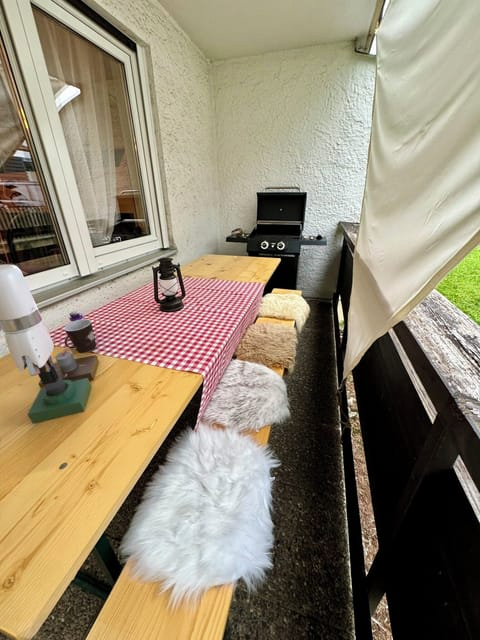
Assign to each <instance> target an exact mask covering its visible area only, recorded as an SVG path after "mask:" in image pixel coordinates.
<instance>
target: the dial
mask: <svg viewBox="0 0 480 640" xmlns="http://www.w3.org/2000/svg"><path fill="white" fill-rule="evenodd" d="M54 359H55V361H56V363H58V365H59V367H60V370H61V371H62V372H64V373H66V372H70V371H72V370H74V369H75V368H76V367H77V364H76V361H75V359H76V358H75V357H74V355H73V352H72V351H70V350H67V349H65V350H63V351H61V352H59V353H58V354H56V355H55V357H54Z"/></svg>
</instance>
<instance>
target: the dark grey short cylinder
mask: <svg viewBox="0 0 480 640" xmlns="http://www.w3.org/2000/svg"><path fill="white" fill-rule="evenodd" d="M66 389H67V385H66V383H65V381H64V380H63V379H57V382H55V383H50V384H47V385H46V387H45V390H46V392H47V393H48V395H49V396H55V395H58V394H60V393H62V392H64V391H65V390H66Z"/></svg>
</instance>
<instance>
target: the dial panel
mask: <svg viewBox="0 0 480 640" xmlns="http://www.w3.org/2000/svg"><path fill="white" fill-rule="evenodd" d="M74 359H75V361H76V364H77V367H76V368H75V369H74V370H72V371H70V372H66V373H64V372H62V371H61V370H60V367H59V365H58V363H57V362H53V366H54V368H55V370H56V372H57V375H58V377H59V378H58V379H63V380H70V381H76V380H81V379H86V378H88V379H89V382H92V381H94V380H95V378H96V374H97V370H98V367H99V363H100V360H99V358H98V356H97V354H94V355H88V356H83V357H82V356H81V357H77V358H74ZM46 385H47V384H43V383H42V381H41V379H40V380H39V382H38V386H39V388H40V389H41V388H43V387H46Z"/></svg>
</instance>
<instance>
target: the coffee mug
mask: <svg viewBox="0 0 480 640" xmlns="http://www.w3.org/2000/svg"><path fill="white" fill-rule="evenodd" d="M78 328H81V329H78ZM76 329H78V330H76ZM63 330H64V332H65V334H66V335H67V336H66V337H65V339H64V345H65V347H66V348H69V349H75V350H76V351H77V353H79V354H85V353H89V352H92V351H94V350H95V349H96V348H97V341H96V337H95V332H94V329H93V323H92V320H91V319H90V318H82V319H80V320H76V321H70V322H68V323H67V324H65V326H64V327H63ZM68 339H69V340H70V342H71V343H72V345H73V346H70V345H68Z"/></svg>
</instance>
